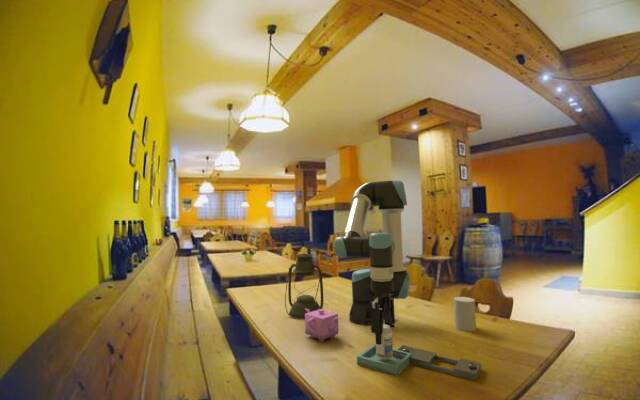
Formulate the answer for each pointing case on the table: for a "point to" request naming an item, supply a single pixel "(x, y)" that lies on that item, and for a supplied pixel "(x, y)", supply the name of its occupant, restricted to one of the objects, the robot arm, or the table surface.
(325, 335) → the teapot
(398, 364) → the tray
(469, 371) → the mounting rail
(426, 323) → the table surface
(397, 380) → the table surface
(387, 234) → the robot arm
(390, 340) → the pill bottle
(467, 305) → the cup
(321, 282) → the lantern
